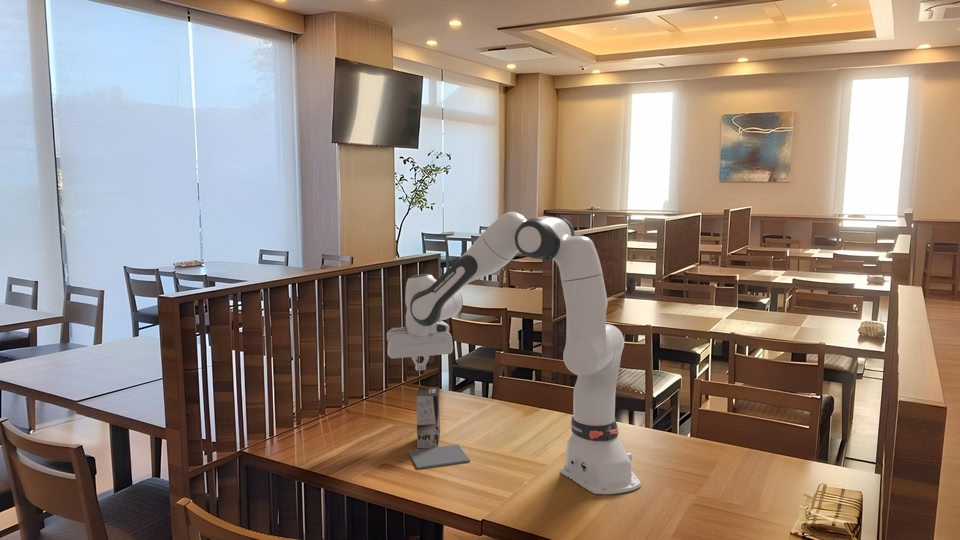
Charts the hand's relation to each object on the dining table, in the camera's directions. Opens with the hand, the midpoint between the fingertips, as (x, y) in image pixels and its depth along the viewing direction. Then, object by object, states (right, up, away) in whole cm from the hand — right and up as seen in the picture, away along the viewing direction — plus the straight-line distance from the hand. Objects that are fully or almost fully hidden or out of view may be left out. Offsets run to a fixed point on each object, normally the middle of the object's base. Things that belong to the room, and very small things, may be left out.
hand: (420, 369), depth 209 cm
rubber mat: (+7, -22, -17) cm, 29 cm away
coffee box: (+3, -21, -7) cm, 22 cm away
